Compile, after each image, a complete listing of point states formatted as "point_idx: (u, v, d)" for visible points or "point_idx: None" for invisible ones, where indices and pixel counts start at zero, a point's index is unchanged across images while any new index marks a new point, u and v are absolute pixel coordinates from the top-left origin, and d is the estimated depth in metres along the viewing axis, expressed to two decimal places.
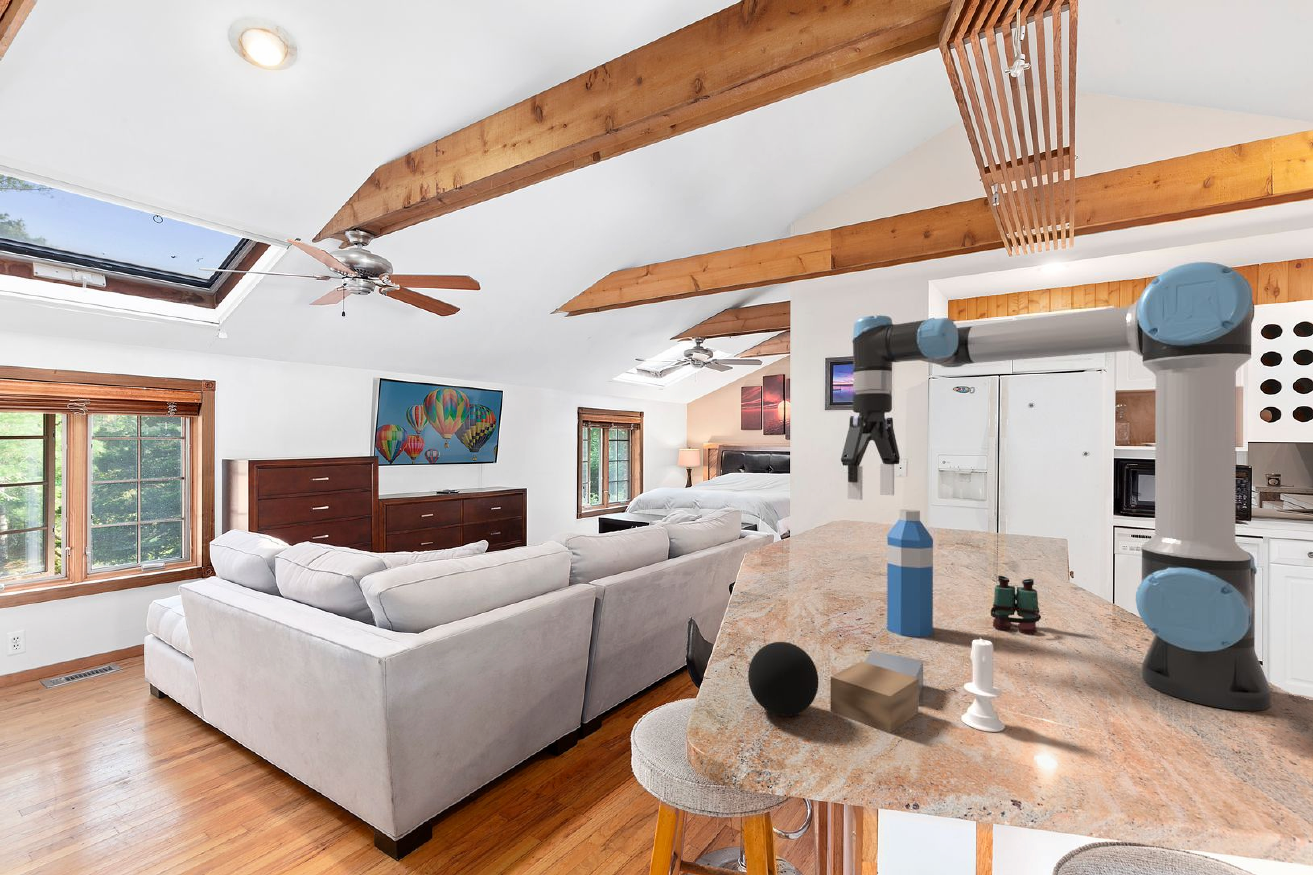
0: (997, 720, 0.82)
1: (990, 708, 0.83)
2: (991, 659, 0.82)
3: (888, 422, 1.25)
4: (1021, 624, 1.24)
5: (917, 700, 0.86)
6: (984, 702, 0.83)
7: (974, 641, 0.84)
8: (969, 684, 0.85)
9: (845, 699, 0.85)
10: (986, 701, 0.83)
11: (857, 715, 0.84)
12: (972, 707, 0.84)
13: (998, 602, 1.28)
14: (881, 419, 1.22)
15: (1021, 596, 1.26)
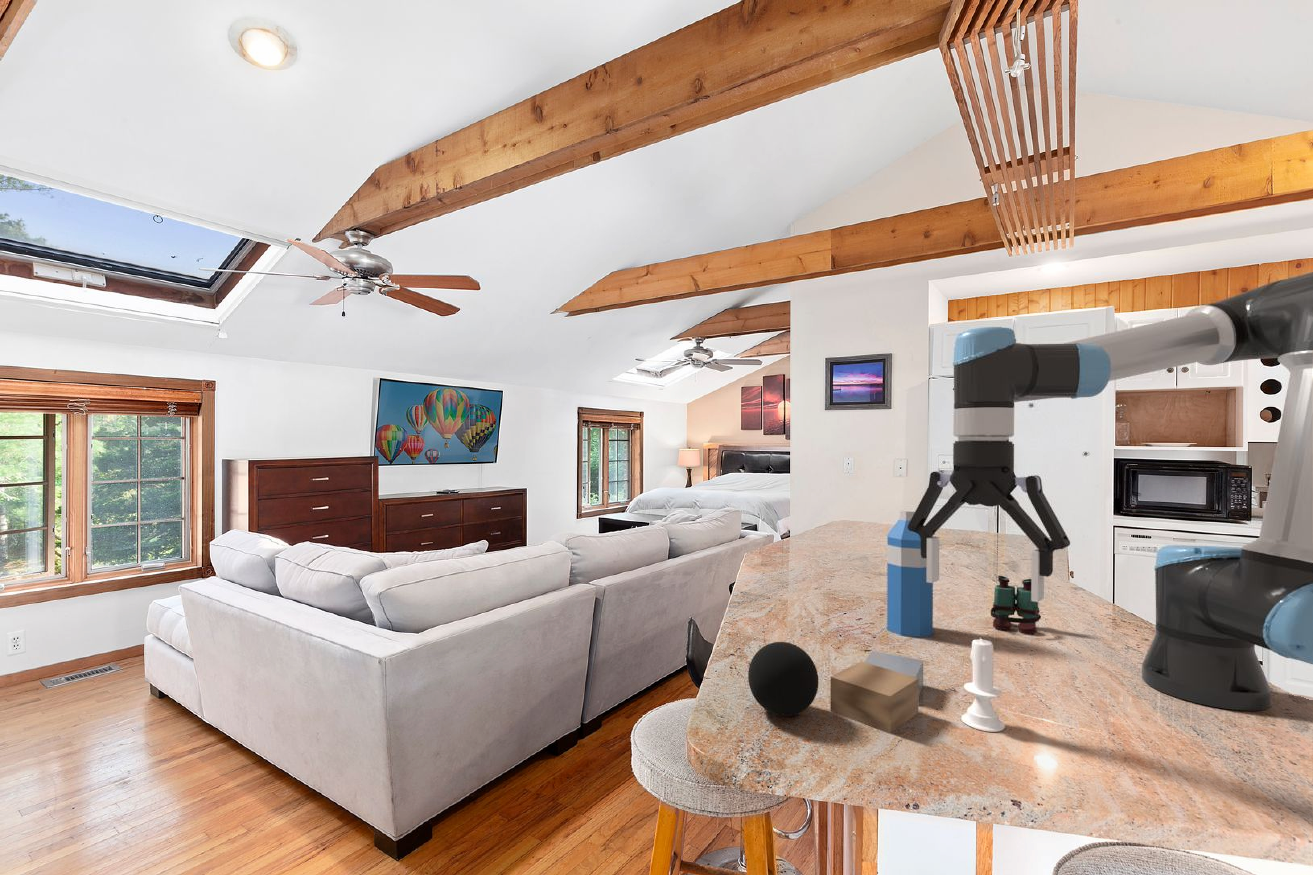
0: (997, 720, 0.82)
1: (990, 708, 0.83)
2: (991, 659, 0.82)
3: None
4: (1021, 624, 1.24)
5: (917, 700, 0.86)
6: (984, 702, 0.83)
7: (974, 641, 0.84)
8: (969, 684, 0.85)
9: (845, 699, 0.85)
10: (986, 701, 0.83)
11: (857, 715, 0.84)
12: (972, 707, 0.84)
13: (998, 602, 1.28)
14: (995, 478, 0.82)
15: (1021, 596, 1.26)
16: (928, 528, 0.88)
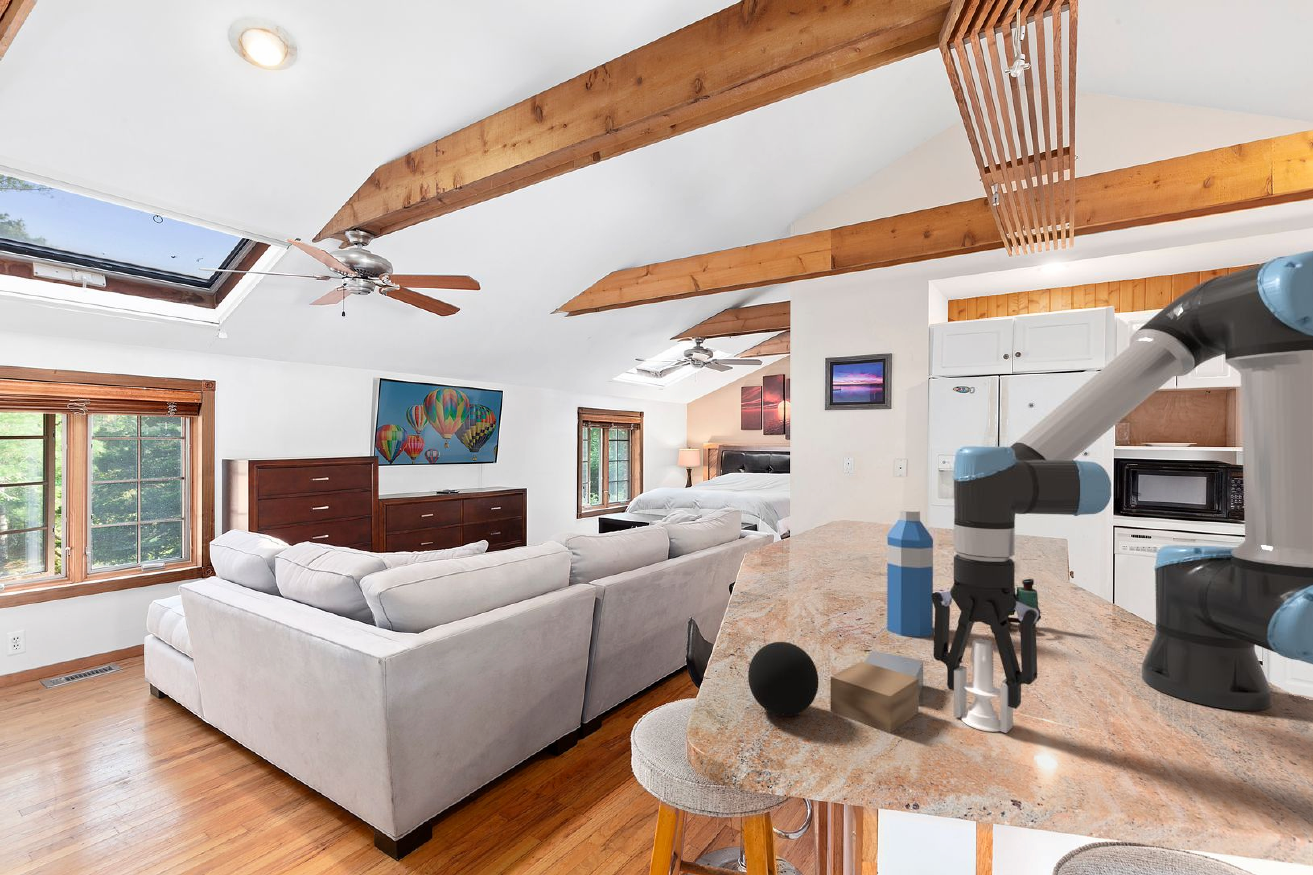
0: (997, 720, 0.82)
1: (990, 708, 0.83)
2: (991, 659, 0.83)
3: None
4: None
5: (917, 700, 0.86)
6: (984, 702, 0.83)
7: (974, 641, 0.84)
8: (969, 684, 0.85)
9: (845, 699, 0.85)
10: (986, 701, 0.83)
11: (857, 715, 0.84)
12: (972, 707, 0.84)
13: None
14: (998, 595, 0.81)
15: (1021, 596, 1.26)
16: (953, 657, 0.85)
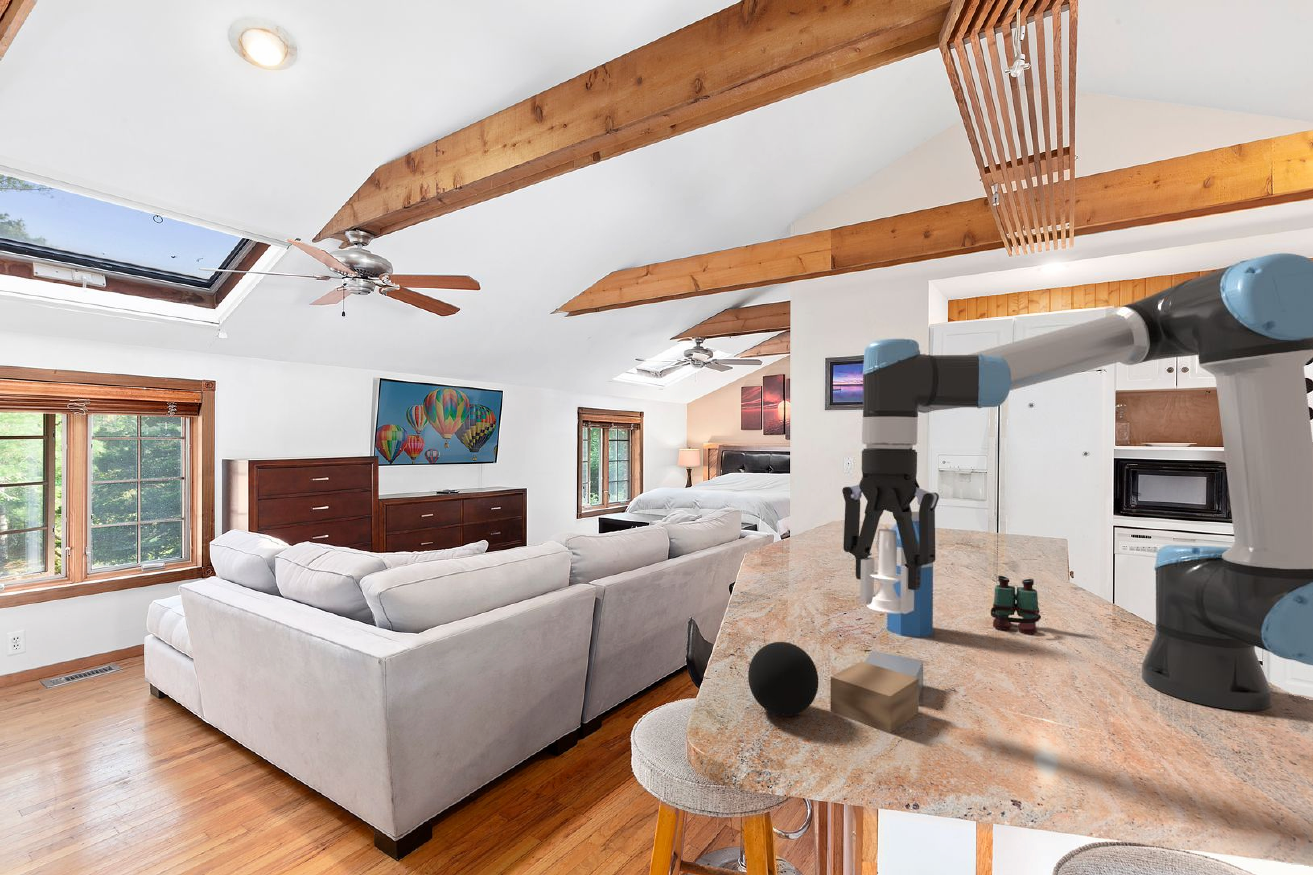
0: (899, 604, 0.85)
1: (893, 593, 0.85)
2: (894, 545, 0.85)
3: None
4: (1021, 624, 1.24)
5: (917, 700, 0.86)
6: (887, 587, 0.86)
7: (879, 530, 0.87)
8: (875, 573, 0.88)
9: (845, 699, 0.85)
10: (889, 586, 0.86)
11: (857, 715, 0.84)
12: (876, 593, 0.87)
13: (998, 602, 1.28)
14: (900, 482, 0.84)
15: (1021, 596, 1.26)
16: (860, 547, 0.88)
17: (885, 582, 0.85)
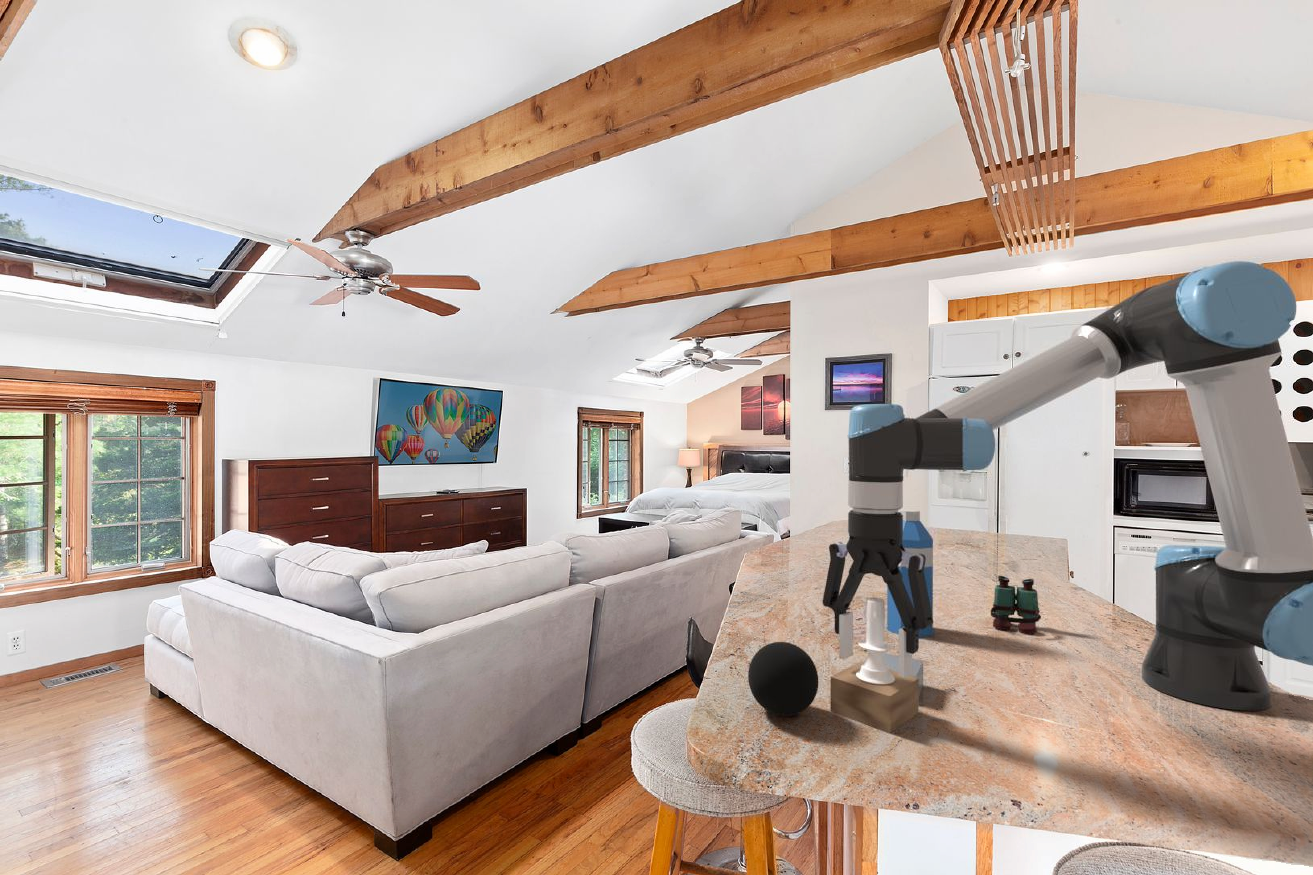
0: (887, 674, 0.85)
1: (881, 662, 0.86)
2: (882, 615, 0.86)
3: None
4: (1021, 624, 1.24)
5: (917, 700, 0.86)
6: (875, 657, 0.86)
7: (867, 599, 0.87)
8: (864, 641, 0.88)
9: (845, 699, 0.85)
10: (877, 656, 0.86)
11: (857, 715, 0.84)
12: (865, 662, 0.87)
13: (998, 602, 1.28)
14: (885, 547, 0.85)
15: (1021, 596, 1.26)
16: (839, 603, 0.90)
17: (873, 652, 0.86)
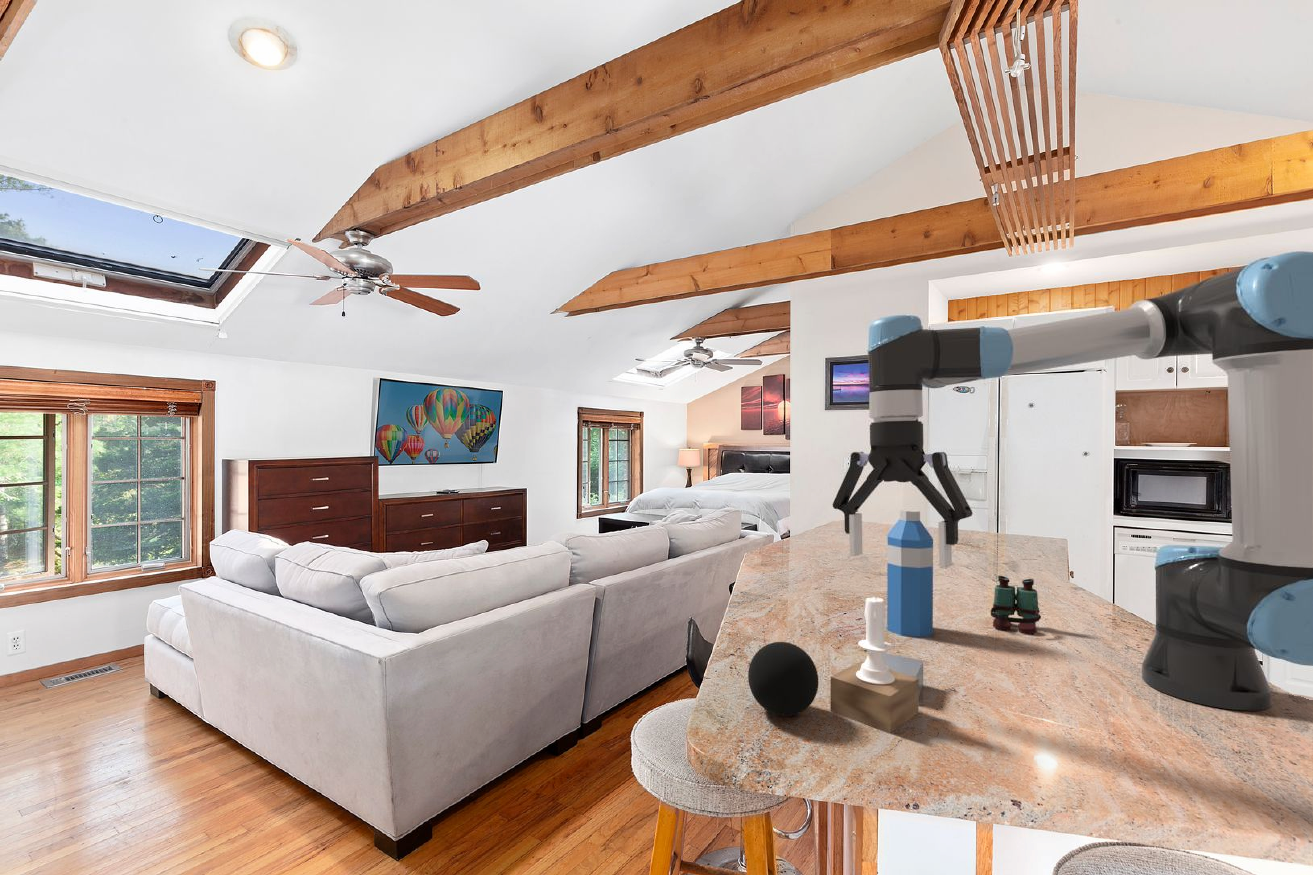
0: (887, 674, 0.85)
1: (881, 662, 0.86)
2: (882, 615, 0.86)
3: None
4: (1021, 624, 1.24)
5: (917, 700, 0.86)
6: (875, 657, 0.86)
7: (867, 599, 0.87)
8: (864, 641, 0.88)
9: (845, 699, 0.85)
10: (877, 656, 0.86)
11: (857, 715, 0.84)
12: (865, 662, 0.87)
13: (998, 602, 1.28)
14: (906, 455, 0.88)
15: (1021, 596, 1.26)
16: (850, 505, 0.94)
17: (873, 652, 0.86)
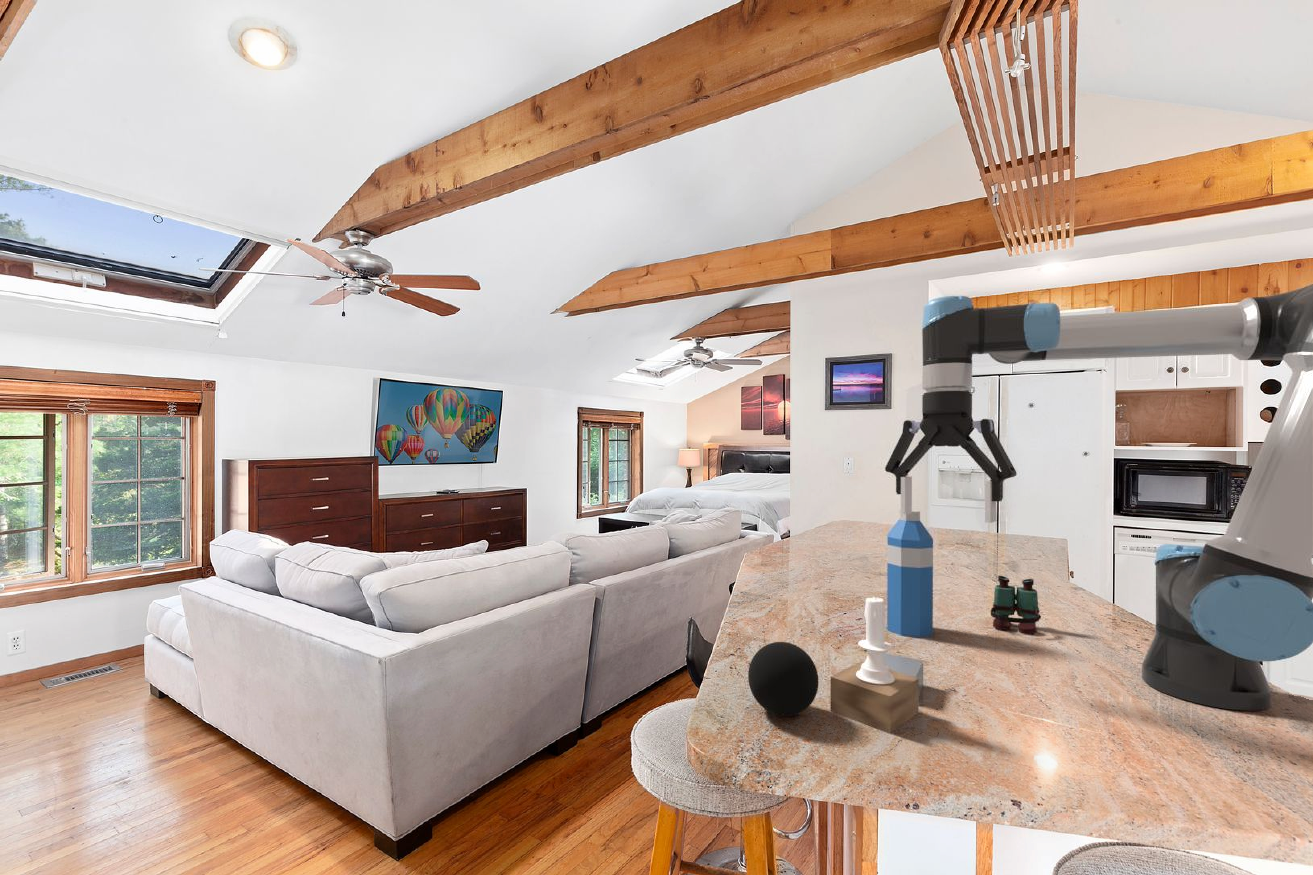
0: (887, 674, 0.85)
1: (881, 662, 0.86)
2: (882, 615, 0.86)
3: None
4: (1021, 624, 1.24)
5: (917, 700, 0.86)
6: (875, 657, 0.86)
7: (867, 599, 0.87)
8: (864, 641, 0.88)
9: (845, 699, 0.85)
10: (877, 656, 0.86)
11: (857, 715, 0.84)
12: (865, 662, 0.87)
13: (998, 602, 1.28)
14: (956, 422, 0.98)
15: (1021, 596, 1.26)
16: (902, 468, 1.04)
17: (873, 652, 0.86)
